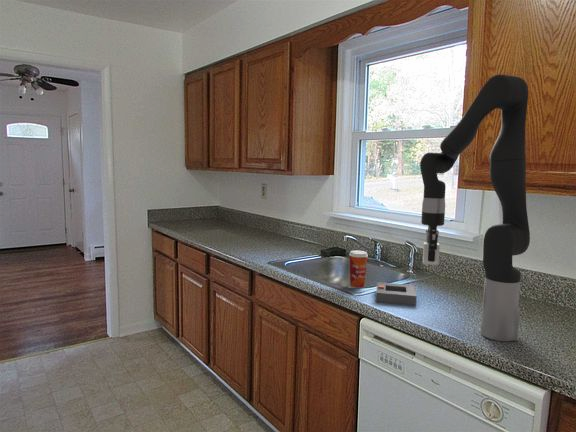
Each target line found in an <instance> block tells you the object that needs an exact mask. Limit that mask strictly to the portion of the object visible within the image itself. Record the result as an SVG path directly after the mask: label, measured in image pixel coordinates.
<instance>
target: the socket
mask: <svg viewBox="0 0 576 432" xmlns="http://www.w3.org/2000/svg"><path fill="white" fill-rule="evenodd" d="M375 292H376V293H375V302H376V301H378V302H377V303H382V302H385V303H384V304H393V303H395V304H394V305H396V304H397V305H406V306H415V307H416V306H417V292H416V286H415V285H414V284H405V283H392V282H379V281H377V283H376V291H375Z"/></svg>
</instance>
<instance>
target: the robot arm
mask: <svg viewBox="0 0 576 432" xmlns="http://www.w3.org/2000/svg"><path fill="white" fill-rule="evenodd" d="M528 102H529V86H528V84H527V81H525V79H524V78H522V77H519V76H515V75H514V76H513V75H508V74H497V75H493V76H491V77H490V78H489V79H488V80H487V81H486V82H485V83H484V85H483V86H482V87H481V89H480V90H479V92H478V93H477V95H476V96H475V98H474V99H473V101H472V102H471V104H470V105H469V106H468V108H467V110H466V112H465V113H464V115H463V116H462V118H461V119H460V120H459V122H458V123H457V124H456V125H455V126H454V128H452V129H451V131H449V133H448V134H447V135H446V136H445V137H444V138H443V140H442V141H441V142H440V146H439V147H440V148H439V149H440V151H441V152H433V151H432V152H431V151H429V152H426V153H425V154H424V155H422V157H421V159H420V163H419V167H420V173H421V178H422V183H423V200H422V203H421V205H422V206H421V222H420V223H421V224H422V225H423V226H427V228H426V229H425V242H427V243H428V261H432V262H434V261H435V251H436V249H437V243H439V242H438V239H439V235H440V234H439V233H440V231H439V229H438V226H439V227H440V226H441V227H442V226H444V225H445V217H446V216H445V215H446V182H444V181H443V180H439V177H438V174H445V173H447V172H449V171H450V170H451V169H452V168H453V166H454V165H455V164H456V162H457V160H458V157H459V156H460V154H461V153H463V152H464V151H465V149H467V147H468V146H469V145H471V143H472V142H473V141H474V139H475V137H476V136H477V132H478V130H479V126H480V124H481V123H482V121H483V120H484V119H485V118H486V116H488V115H489V114H490V113H492V111H494V110H496V109H498V110H500V112H501V113H500V115H501V126H500V131H499V134H498V136H497V138H496V140H495V142H494V145H493V146H492V149H491V151H490V156H489V178H490V182H491V186H492V188H493V190H494V191H495V193H496V196H497V198H498V199H499V202H500V205H501V210H502V223H500V224H494V225H491V226H490V227H488V228H487V230H486V232H485V234H484V237H483V242H482V243H483V245H482V247H483V248H482V249H483V250H482V251H483V253H482V265H483V266H482V267H483V270H484V273H485V274H484V285H483V295H482V296H483V299H482V308H481V311H482V312H481V321H480V322H481V323H480V334H481V336H483V337H485V338H487V339H489V340H492V341H497V342H513V341H516V342H518V337H519V336H518V335H519V325H520V316H521V315H520V314H521V309H520V307H519V302H520V301H519V298H520V288H521V278H522V273H521V270H519V269H517V268H515V267H514V265H513V257H514V256H520V255H522V254H524V253H525V252H526V251H527V250H528V249H529V246H530V242H531V236H530V235H531V232H530V225H529V218H528V217H529V216H528V210H527V207H528V206H527V185H526V184H527V183H526V181H527V176H526V175H527V160H526V155H527V154H526V123H527V121H526V120H527V113H528V111H527V110H528V105H529V104H528ZM431 244H434V246H431Z"/></svg>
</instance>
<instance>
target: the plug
mask: <svg viewBox="0 0 576 432" xmlns="http://www.w3.org/2000/svg"><path fill="white" fill-rule="evenodd" d="M431 246H434V244H431ZM422 247H423V248H422V264H423V265H432V266H433V265H434V266H439V262H440V248H441V245H440V243H439V242H438V243H437V249H436V251H435V261H434V262H432V261H428V243H427V242H426V241H424V242H423V245H422Z"/></svg>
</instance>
